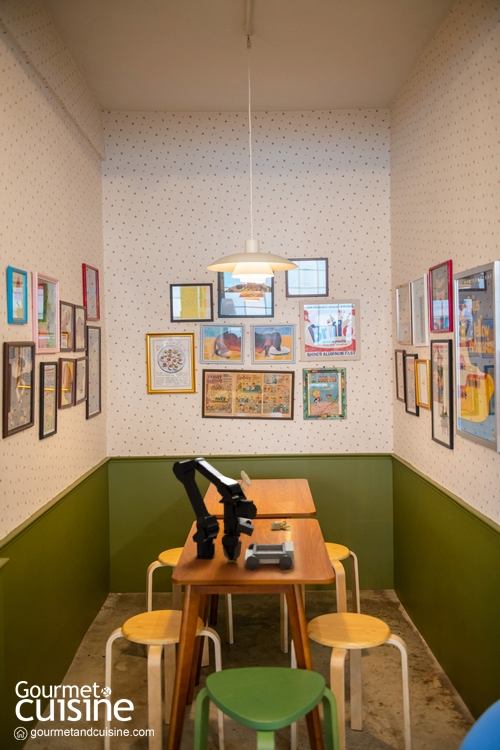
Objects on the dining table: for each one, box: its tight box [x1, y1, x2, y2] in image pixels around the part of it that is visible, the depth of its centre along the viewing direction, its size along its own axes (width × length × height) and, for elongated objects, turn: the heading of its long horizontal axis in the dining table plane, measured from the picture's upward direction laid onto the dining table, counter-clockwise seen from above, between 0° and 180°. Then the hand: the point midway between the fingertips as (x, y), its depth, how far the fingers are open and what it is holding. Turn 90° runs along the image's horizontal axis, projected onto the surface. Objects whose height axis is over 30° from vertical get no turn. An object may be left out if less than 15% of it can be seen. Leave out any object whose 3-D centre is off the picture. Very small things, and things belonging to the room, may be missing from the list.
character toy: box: [270, 520, 291, 531], centre depth 296 cm, size 8×3×8 cm
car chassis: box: [244, 541, 295, 571], centre depth 248 cm, size 18×18×6 cm
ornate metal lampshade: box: [221, 540, 243, 565], centre depth 248 cm, size 8×7×8 cm
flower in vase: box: [233, 470, 253, 524], centre depth 302 cm, size 13×11×25 cm
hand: (232, 557), depth 249 cm, fingers open, 7 cm apart
